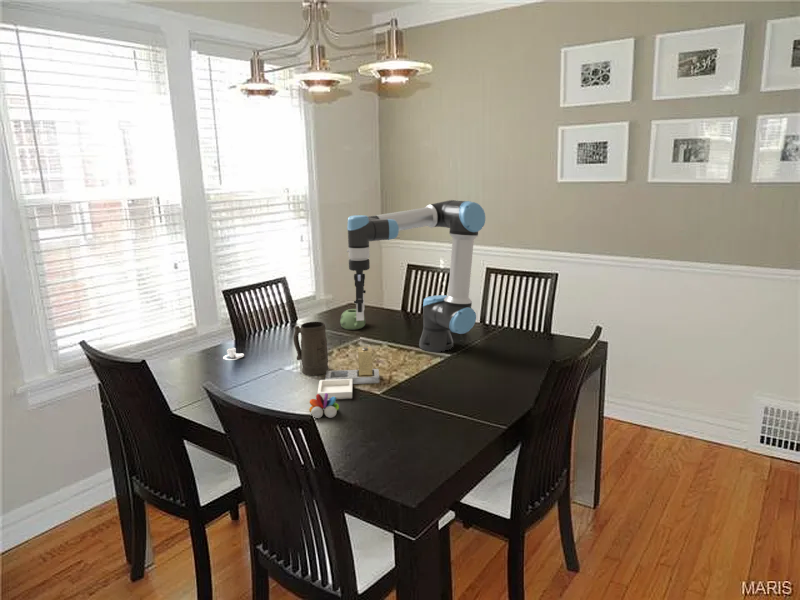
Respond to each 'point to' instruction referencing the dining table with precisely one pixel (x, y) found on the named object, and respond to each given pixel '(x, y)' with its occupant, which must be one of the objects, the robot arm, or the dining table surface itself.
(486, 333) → the dining table surface
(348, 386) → the parts tray
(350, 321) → the green dome pot
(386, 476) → the dining table surface
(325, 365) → the beer stein
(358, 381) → the gray rectangular frame
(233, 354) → the white valve handwheel
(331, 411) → the rainbow petal fan toy
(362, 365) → the tan knobbed block
